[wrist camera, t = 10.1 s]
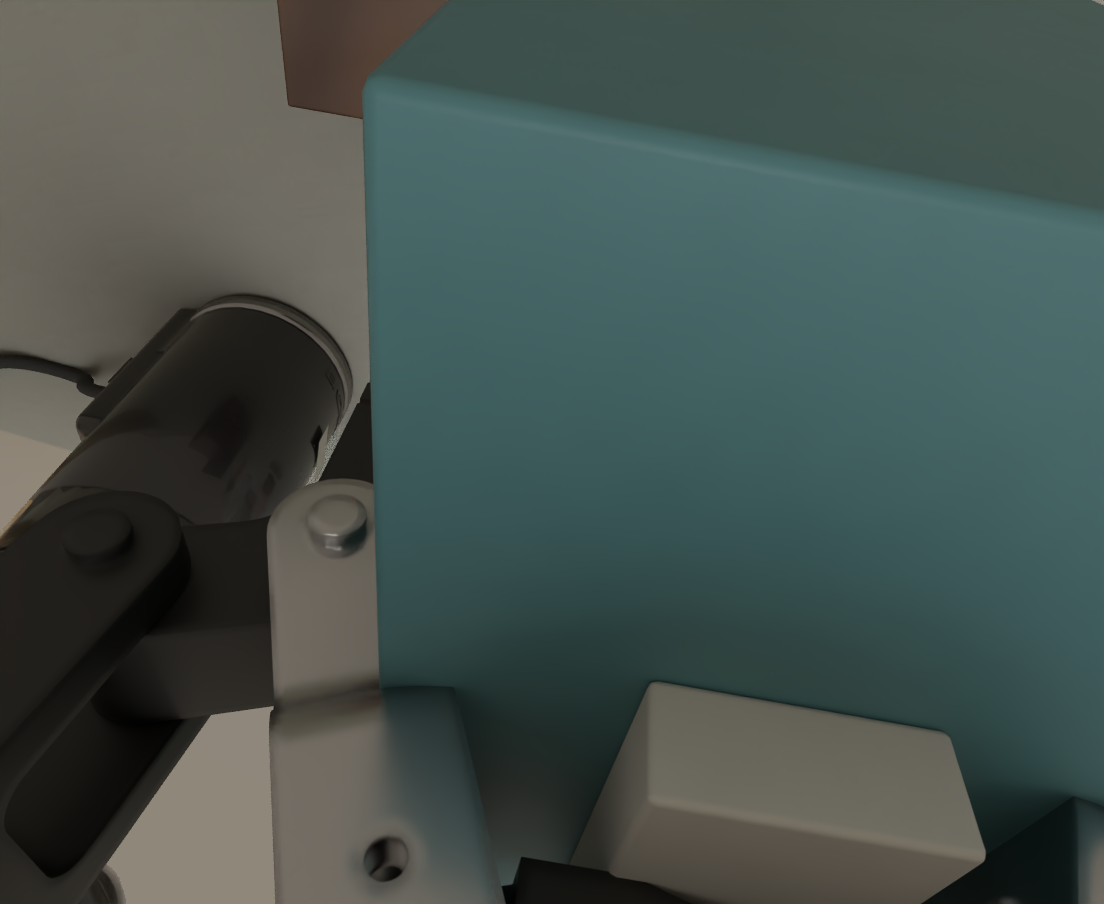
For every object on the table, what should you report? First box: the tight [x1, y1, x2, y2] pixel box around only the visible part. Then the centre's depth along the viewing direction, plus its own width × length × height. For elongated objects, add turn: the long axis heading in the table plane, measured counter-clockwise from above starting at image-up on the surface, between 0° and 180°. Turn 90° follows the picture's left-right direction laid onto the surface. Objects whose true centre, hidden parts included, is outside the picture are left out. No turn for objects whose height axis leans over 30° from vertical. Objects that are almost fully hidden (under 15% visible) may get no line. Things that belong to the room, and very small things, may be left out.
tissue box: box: [362, 0, 1104, 904], centre depth 9 cm, size 6×11×8 cm, turn 172°
